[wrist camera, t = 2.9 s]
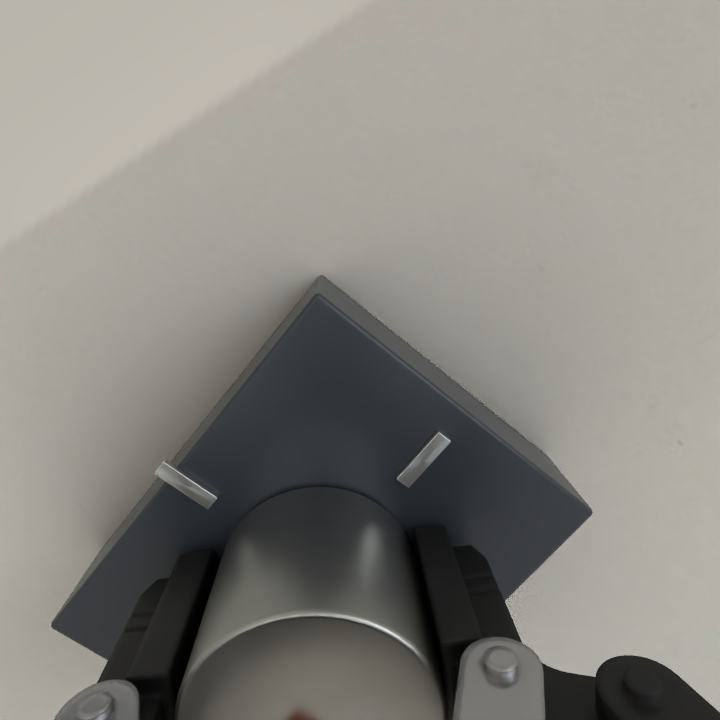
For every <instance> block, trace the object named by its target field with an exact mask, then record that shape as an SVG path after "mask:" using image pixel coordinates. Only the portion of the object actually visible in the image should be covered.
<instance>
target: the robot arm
mask: <svg viewBox="0 0 720 720" xmlns="http://www.w3.org/2000/svg"><path fill="white" fill-rule="evenodd" d="M413 540H414V552H415V559H416V564H417V568H418V573H419V577H420V582H421V586H422V591H423V595H424V600H425V604H426V609H427V613H428V618H429V622H430V627H431V631H432V636H433V640H434V645H435V649H436V654H437V658H438V663H439V668H440V672H441V677H442V681H443V686H444V690H445V695H446V701H447V707H448V713H447V720H720V713H719V712H718V711H717V710H716V709H715V708H714V707H713V706H712V705H710V704H709V703H708V702H707V701H706V700H705V699H704V698H703V697H701V696H700V695H699V694H698V693H697V692H696V691H695V690H694V689H692V688H691V687H690V686H689V685H688V684H687V683H686V682H685V681H683V680H682V679H681V678H680V677H679V676H678V675H677V674H675V673H674V672H673V671H672V670H670V669H669V668H667V667H666V666H664V665H662V664H660V663H658V662H656V661H653V660H650V659H648V658H644V657H639V656H626V655H624V656H617V657H614V658H611V659H609V660H607V661H605V662H604V663H603V664H602V665H601V666H600V667H599V668H598V671H597V673H596V677H591V676H585V675H578V674H572V673H567V672H562V671H559V670H556V669H553V668H551V667H549V666H546V665H545V664H543V663H541V661H540V659H539V658H538V656H537V655H536V654H535V653H534V651H533V650H531V649H530V648H529V647H528V646H526V645H524V644H523V643H522V641H521V639H520V637H519V634H518V632H517V630H516V627H515V625H514V623H513V620H512V618H511V615H510V613H509V611H508V608H507V606H506V603H505V601H504V599H503V596H502V594H501V592H500V591H499V587H498V584H497V582H496V580H495V577H493V573H492V570H491V568H490V565H489V563H488V561H487V558H486V557H485V556H484V555H482V554H481V553H480V552H479V551H478V550H477V549H475V548H474V547H473V546H472V545H466V546H457V547H452V544H451V541H450V538H449V535H448V532H447V530H446V527H445V525H439V526H430V527H421V528H413ZM219 565H220V564H219V559H218V555H217V553H216V551H215V550H208V551H199V552H190V553H182V554H180V556H179V558H178V560H177V562H176V564H175V567H174V569H173V571H172V573H171V576H170V578H164V579H157V580H156V581H155V582H154V583H153V584H152V585H151V586H150V587H149V588H148V589H147V590H146V591H145V592H144V593H143V594H142V595H141V596H140V597H139V599H138V601H137V603H136V605H135V607H134V610H133V612H132V616H131V617H130V618H129V620H128V622H127V624H126V626H125V628H124V632H122V634H121V636H120V638H119V640H118V642H117V644H116V646H115V648H114V650H113V652H112V654H111V656H110V658H109V660H108V662H107V664H106V666H105V668H104V670H103V672H102V674H101V676H100V678H99V680H98V682H97V684H94V685H92V686H90V687H88V688H86V689H84V690H82V691H81V692H79V693H78V694H76V695H75V696H74V697H72V698H71V699H70V700H69V701H68V702H67V703H66V704H65V705H64V706H63V707H62V708H61V710H60V711H59V712H58V714H57V715H56V717H55V719H54V720H174V719H175V706H176V700H177V695H178V692H179V689H180V686H181V683H182V680H183V677H184V674H185V670H186V667H187V664H188V661H189V658H190V655H191V652H192V649H193V645H194V642H195V639H196V636H197V633H198V630H199V627H200V624H201V621H202V617H203V614H204V611H205V608H206V605H207V602H208V599H209V596H210V593H211V589H212V586H213V583H214V580H215V577H216V574H217V571H218V568H219Z"/></svg>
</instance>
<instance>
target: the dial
mask: <svg viewBox="0 0 720 720" xmlns="http://www.w3.org/2000/svg"><path fill="white" fill-rule="evenodd" d="M447 713H448V707H447V701H446V695H445V690H444V686H443V681H442V677H441V672H440V668H439V663H438V658H437V654H436V649H435V645H434V640H433V636H432V631H431V627H430V622H429V618H428V613H427V609H426V604H425V600H424V595H423V591H422V586H421V582H420V577H419V573H418V568H417V564H416V559H415V555H414V551H413V548H412V545H411V542H410V540H409V538H408V536H407V534H406V532H405V531H404V529H403V528H402V526H401V525H400V524H399V522H398V521H397V520H396V519H395V518H394V517H393V516H392V515H391V514H390V513H389V512H388V511H387V510H385V509H384V508H383V507H382V506H380V505H379V504H377V503H375V502H374V501H372V500H370V499H369V498H366V497H364V496H362V495H360V494H357V493H354V492H351V491H348V490H344V489H338V488H332V487H307V488H301V489H295V490H291V491H288V492H285V493H281V494H279V495H277V496H275V497H272V498H270V499H268V500H267V501H265V502H263V503H262V504H260V505H258V506H257V507H256V508H254V509H253V510H252V511H251V512H249V513H248V514H247V515H246V516H245V517H244V518H243V519H242V520H241V521H240V522H239V524H238V525H237V526H236V528H235V529H234V530H233V532H232V534H231V536H230V538H229V539H228V541H227V544H226V546H225V549H224V552H223V555H222V558H221V561H220V565H219V568H218V571H217V574H216V577H215V580H214V583H213V586H212V589H211V593H210V596H209V599H208V602H207V605H206V608H205V611H204V614H203V617H202V621H201V624H200V627H199V630H198V633H197V636H196V639H195V642H194V645H193V649H192V652H191V655H190V658H189V661H188V664H187V667H186V670H185V674H184V677H183V680H182V683H181V686H180V689H179V692H178V695H177V700H176V706H175V719H174V720H447Z"/></svg>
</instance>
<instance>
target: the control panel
mask: <svg viewBox="0 0 720 720" xmlns="http://www.w3.org/2000/svg"><path fill="white" fill-rule="evenodd" d="M154 474H155V475H157V476H158V477H159V478H158V479H157V480H156V481H155V483H154V484H153V485H152V486H151V488H150V489H149V490H148V491H147V493H146V494H145V495H144V496H143V498H142V499H141V500H140V501H139V503H138V504H137V505H136V506H135V508H134V509H133V510H132V511H131V513H130V514H129V515H128V516H127V518H126V519H125V520H124V521H123V523H122V524H121V525H120V526H119V528H118V529H117V530H116V531H115V533H114V534H113V535H112V537H111V538H110V539H109V540H108V542H107V543H106V544H105V545H104V547H103V548H102V549H101V550H100V552H99V553H98V555H97V556H96V558H95V559H94V561H93V562H92V564H91V565H90V567H89V568H88V570H87V571H86V572H85V574H84V575H83V577H82V578H81V580H80V581H79V583H78V584H77V586H76V587H75V589H74V590H73V592H72V593H71V595H70V596H69V598H68V599H67V601H66V602H65V604H64V605H63V607H62V608H61V610H60V611H59V613H58V614H57V615H56V617H55V618H54V620H53V621H52V625H51V627H52V628H53V629H55V630H56V631H58V632H60V633H62V634H63V635H65V636H67V637H69V638H70V639H72V640H74V641H75V642H77V643H79V644H81V645H82V646H84V647H86V648H88V649H89V650H91V651H93V652H94V653H96V654H98V655H100V656H101V657H103V658H105V659H107V660H109V658H110V656H111V654H112V652H113V650H114V648H115V646H116V644H117V642H118V640H119V638H120V636H121V634H122V632H124V628H125V626H126V624H127V622H128V620H129V618H130V617H131V616H132V612H133V610H134V607H135V605H136V603H137V601H138V599H139V597H140V596H141V595H142V594H143V593H144V592H145V591H146V590H147V589H148V588H149V587H150V586H151V585H152V584H153V583H154V582H155V581H156V580H157V579H164V578H170V576H171V573H172V571H173V569H174V567H175V564H176V562H177V560H178V558H179V556H180V554H182V553H190V552H199V551H208V550H215V551H216V553H217V555H218V559H219V564H220V561H221V558H222V555H223V552H224V549H225V546H226V544H227V541H228V539H229V538H230V536H231V534H232V532H233V530H234V529H235V528H236V526H237V525H238V524H239V522H240V521H241V520H242V519H243V518H244V517H245V516H246V515H247V514H248V513H249V512H251V511H252V510H253V509H254V508H256V507H257V506H258V505H260V504H262V503H263V502H265V501H267V500H268V499H270V498H272V497H275V496H277V495H279V494H281V493H285V492H288V491H291V490H295V489H301V488H307V487H332V488H338V489H344V490H348V491H351V492H354V493H357V494H360V495H362V496H364V497H366V498H369V499H370V500H372V501H374V502H375V503H377V504H379V505H380V506H382V507H383V508H384V509H385V510H387V511H388V512H389V513H390V514H391V515H392V516H393V517H394V518H395V519H396V520H397V521H398V522H399V524H400V525H401V526H402V528H403V529H404V531H405V532H406V534H407V536H408V538H409V540H410V542H411V545H412V548H413V551H414V540H413V528H421V527H430V526H439V525H445V527H446V530H447V532H448V535H449V538H450V541H451V544H452V547H457V546H466V545H472V546H473V547H474V548H475V549H477V550H478V551H479V552H480V553H481V554H482V555H484V556H485V557H486V558H487V561H488V563H489V565H490V568H491V570H492V573H493V577H495V580H496V582H497V584H498V587H499V591H500V592H501V594H502V596H503V599H504V601H505V600H506V599H507V598H508V597H509V596H510V595H511V594H512V593H513V592H514V591H515V590H516V589H517V588H518V587H519V586H520V585H521V584H522V583H523V582H524V581H525V580H526V579H527V578H528V577H529V576H530V575H531V574H532V573H533V572H534V571H535V570H536V569H537V568H539V567H540V566H541V565H542V564H543V563H544V562H545V561H546V560H547V559H548V558H549V557H550V556H551V555H552V554H553V553H554V552H555V551H556V550H557V549H558V548H559V547H560V546H561V545H562V544H563V543H564V542H565V541H566V540H567V539H568V538H569V537H570V536H571V535H572V534H573V533H574V532H575V531H576V530H577V529H578V528H579V527H580V526H581V525H582V524H583V523H584V522H585V521H586V520H587V519H588V518H589V517H590V516H591V515H592V510H591V508H590V507H589V506H588V504H587V503H586V502H585V501H584V500H583V498H582V497H581V496H580V495H579V494H578V492H577V491H576V490H575V489H574V488H573V486H572V485H571V484H570V483H569V481H568V480H567V479H566V478H565V477H564V475H563V474H562V473H561V472H560V471H559V469H558V468H557V467H556V466H555V465H554V463H553V462H552V461H551V460H550V459H549V457H548V456H547V455H546V454H544V453H543V452H542V451H541V450H539V449H538V448H537V447H536V446H534V445H533V444H532V443H531V442H529V441H528V440H527V439H526V438H524V437H523V436H522V435H521V434H520V433H518V432H517V431H516V430H515V429H513V428H512V427H511V426H510V425H508V424H507V423H506V422H505V421H503V420H502V419H501V418H500V417H498V416H497V415H496V414H495V413H493V412H492V411H491V410H490V409H488V408H487V407H486V406H485V405H483V404H482V403H481V402H480V401H478V400H477V399H476V398H475V397H474V396H472V395H471V394H470V393H469V392H467V391H466V390H465V389H464V388H462V387H461V386H460V385H459V384H457V383H456V382H455V381H454V380H452V379H451V378H450V377H449V376H447V375H446V374H445V373H444V372H442V371H441V370H440V369H439V368H437V367H436V366H435V365H434V364H433V363H431V362H430V361H429V360H428V359H426V358H425V357H424V356H423V355H421V354H420V353H419V352H418V351H416V350H415V349H414V348H413V347H411V346H410V345H409V344H408V343H406V342H405V341H404V340H403V339H401V338H400V337H399V336H398V335H396V334H395V333H394V332H393V331H391V330H390V329H389V328H388V327H387V326H385V325H384V324H383V323H382V322H380V321H379V320H378V319H377V318H375V317H374V316H373V315H372V314H370V313H369V312H368V311H367V310H365V309H364V308H363V307H362V306H360V305H359V304H358V303H357V302H355V301H354V300H353V299H352V298H350V297H349V296H348V295H347V294H345V293H344V292H343V291H342V290H341V289H339V288H338V287H337V286H336V285H334V284H333V283H332V282H331V281H329V280H328V279H327V278H326V277H324V276H322V275H321V276H319V277H318V278H317V279H316V280H315V282H314V283H313V284H312V285H311V287H310V288H309V289H308V290H307V292H306V293H305V294H304V296H303V297H302V298H301V299H300V301H299V302H298V303H297V304H296V306H295V307H294V308H293V309H292V311H291V312H290V313H289V314H288V316H287V317H286V318H285V319H284V321H283V322H282V323H281V324H280V326H279V327H278V328H277V329H276V331H275V332H274V333H273V334H272V336H271V337H270V338H269V339H268V341H267V342H266V343H265V344H264V346H263V347H262V348H261V349H260V351H259V352H258V353H257V355H256V356H255V357H254V358H253V360H252V361H251V362H250V363H249V365H248V366H247V367H246V368H245V370H244V371H243V372H242V373H241V375H240V376H239V377H238V378H237V380H236V381H235V382H234V383H233V385H232V386H231V387H230V388H229V390H228V391H227V392H226V393H225V395H224V396H223V397H222V398H221V400H220V401H219V402H218V403H217V405H216V406H215V407H214V408H213V410H212V411H211V412H210V414H209V415H208V416H207V417H206V419H205V420H204V421H203V422H202V424H201V425H200V426H199V427H198V429H197V430H196V431H195V432H194V434H193V435H192V436H191V437H190V439H189V440H188V441H187V442H186V444H185V445H184V446H183V447H182V449H181V450H180V451H179V452H178V454H177V455H176V456H175V457H174V459H173V460H172V461H171V462H169V461H168V460H166V459H165V460H164V461H163V462H162V463H161V465H160V466H159V467H158V468H157V470H156V471H155V472H154ZM414 555H415V552H414Z"/></svg>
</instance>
